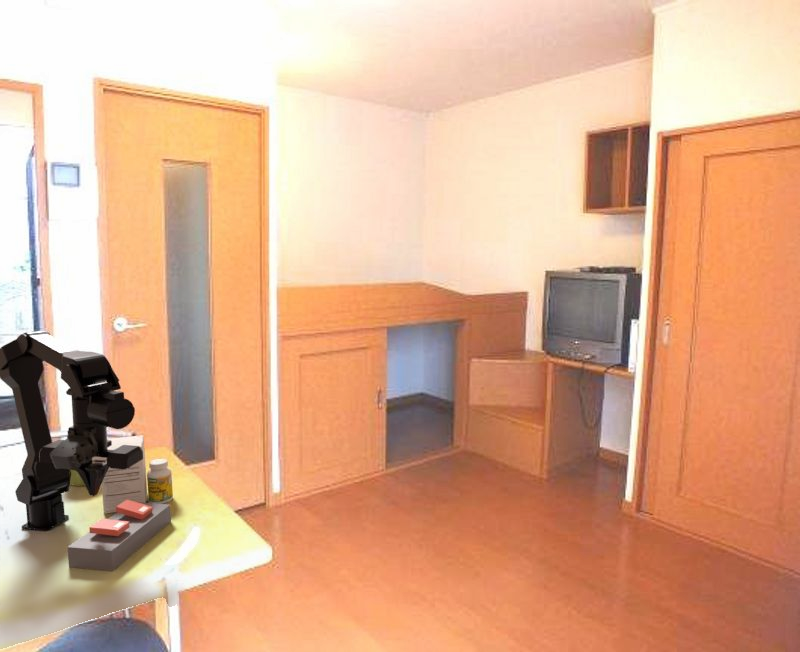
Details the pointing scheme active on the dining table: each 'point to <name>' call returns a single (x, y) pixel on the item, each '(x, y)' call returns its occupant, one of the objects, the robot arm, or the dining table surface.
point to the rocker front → (109, 527)
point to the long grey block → (118, 540)
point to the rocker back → (134, 509)
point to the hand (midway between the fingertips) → (93, 495)
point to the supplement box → (125, 478)
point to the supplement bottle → (159, 482)
